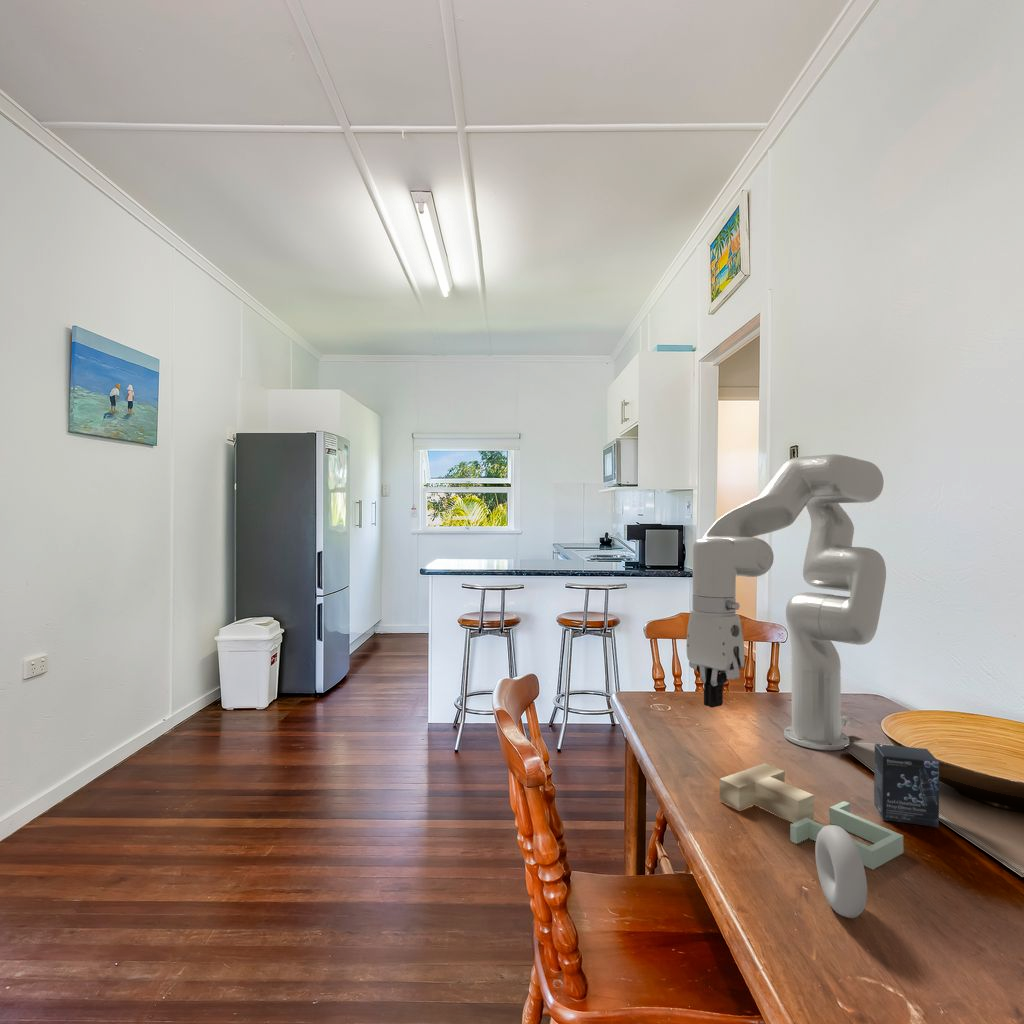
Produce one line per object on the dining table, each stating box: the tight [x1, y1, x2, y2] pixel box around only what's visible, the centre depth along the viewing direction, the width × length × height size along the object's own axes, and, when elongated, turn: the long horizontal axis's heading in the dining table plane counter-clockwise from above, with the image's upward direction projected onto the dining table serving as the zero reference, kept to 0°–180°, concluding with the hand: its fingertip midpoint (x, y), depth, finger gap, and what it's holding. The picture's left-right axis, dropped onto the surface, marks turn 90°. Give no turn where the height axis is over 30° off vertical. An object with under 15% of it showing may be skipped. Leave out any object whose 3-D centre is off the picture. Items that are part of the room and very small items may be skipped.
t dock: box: [789, 800, 904, 870], centre depth 91 cm, size 14×10×2 cm
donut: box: [814, 824, 868, 919], centre depth 76 cm, size 10×4×10 cm, turn 172°
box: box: [873, 743, 940, 828], centre depth 99 cm, size 8×6×11 cm
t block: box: [719, 762, 815, 824], centre depth 102 cm, size 12×12×4 cm
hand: (713, 705), depth 112 cm, fingers closed
